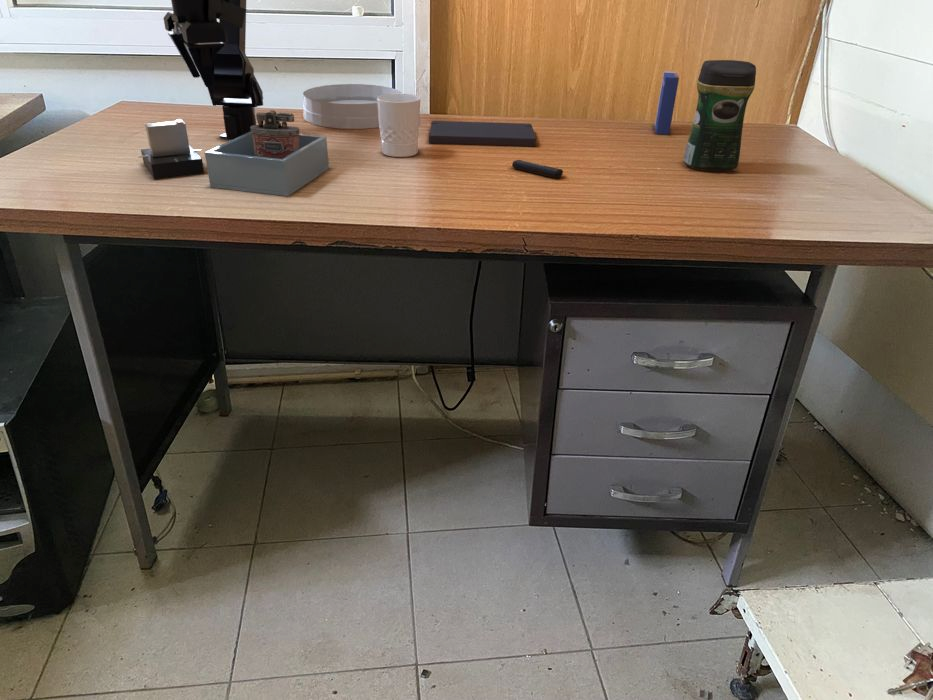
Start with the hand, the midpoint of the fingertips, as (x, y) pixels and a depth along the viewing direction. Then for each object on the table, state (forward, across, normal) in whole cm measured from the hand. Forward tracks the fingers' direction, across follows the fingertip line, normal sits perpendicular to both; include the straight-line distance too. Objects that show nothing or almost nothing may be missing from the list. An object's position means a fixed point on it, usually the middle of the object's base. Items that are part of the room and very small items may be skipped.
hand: (202, 82), depth 119 cm
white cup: (+13, -11, -32) cm, 36 cm away
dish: (+13, +20, -35) cm, 43 cm away
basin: (+13, -16, -6) cm, 21 cm away
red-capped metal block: (+10, -4, +8) cm, 13 cm away
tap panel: (+13, -4, +8) cm, 16 cm away
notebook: (+13, -7, -52) cm, 54 cm away
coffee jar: (+13, -43, -80) cm, 92 cm away
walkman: (+13, -18, -92) cm, 95 cm away
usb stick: (+13, -32, -48) cm, 60 cm away
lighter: (+13, -16, -7) cm, 21 cm away
